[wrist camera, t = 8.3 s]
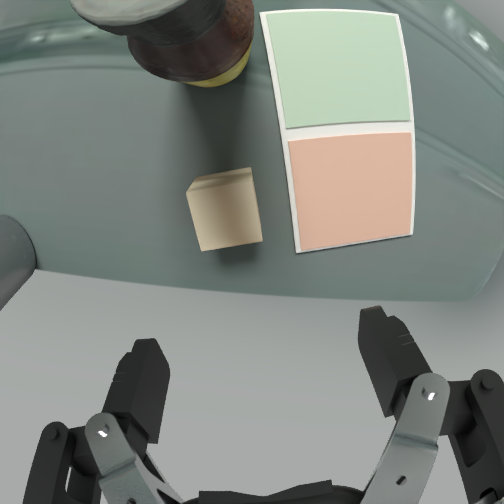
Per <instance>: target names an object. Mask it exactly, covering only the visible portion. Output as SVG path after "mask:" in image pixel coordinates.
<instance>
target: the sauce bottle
mask: <svg viewBox="0 0 504 504" xmlns="http://www.w3.org/2000/svg"><path fill="white" fill-rule="evenodd" d="M70 3H71V6H72V8H73V9H74V11H75V12H77V14H78V15H79V16H80V17H82V18H83V19H84V20H86V21H87V22H89V23H91V24H93V25H95V26H97V27H98V28H100V29H102V30H105V31H107V32H110V33H113V34H116V35H121V36H122V35H126V36H127V41H128V47H129V49H130V52H131V54H132V56H133V57H134V59H135V60H136V61H137V63H138V64H139V65H140V66H141V67H143V68H144V69H145V70H147V71H148V72H150V73H151V74H153V75H156V76H158V77H160V78H163V79H167V80H171V81H176V82H182V83H186V84H191V85H195V86H200V87H215V86H220V85H223V84H226V83H228V82H230V81H231V80H233V79H235V78H236V77H237V76H238V75H239V74H240V73H241V72H242V70H243V69H244V67H245V65H246V63H247V61H248V58H249V53H250V49H251V44H252V40H253V35H254V7H253V2H252V1H251V0H70Z"/></svg>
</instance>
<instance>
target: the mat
mask: <svg viewBox="0 0 504 504" xmlns="http://www.w3.org/2000/svg"><path fill="white" fill-rule="evenodd" d="M259 14H260V19H261V24H262V29H263V34H264V39H265V45H266V50H267V55H268V61H269V66H270V72H271V78H272V83H273V89H274V95H275V101H276V107H277V114H278V120H279V126H280V133H281V140H282V146H283V153H284V160H285V168H286V175H287V183H288V190H289V198H290V206H291V214H292V223H293V232H294V241H295V250H296V253H300V252H307V251H313V250H320V249H326V248H332V247H339V246H345V245H351V244H357V243H363V242H370V241H376V240H382V239H388V238H394V237H400V236H407V235H413V225H414V208H415V134H414V117H413V105H412V95H411V86H410V78H409V70H408V64H407V57H406V51H405V46H404V40H403V35H402V30H401V25H400V21H399V17H398V14H392V13H383V12H374V11H363V10H346V9H297V10H280V11H268V12H260V13H259Z"/></svg>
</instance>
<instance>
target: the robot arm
mask: <svg viewBox="0 0 504 504" xmlns="http://www.w3.org/2000/svg"><path fill="white" fill-rule="evenodd" d="M35 265H36V259H35V253H34V249H33V246H32V243H31V241H30V239H29V237H28V235H27V233H26V232H25V230H24V229H23V228H22V227H21V226H20V224H19V223H17V222H16V221H15V220H14V219H12V218H10V217H7V216H0V311H1V310H2V308H3V307H4V306H5V305H6V304H7V302H8V301H9V300H10V299H11V298H12V297H13V295H14V294H15V293H16V292H17V291H18V290H19V289H20V288H21V286H22V285H23V284H24V283H25V282H26V281H27V280H28V279H29V278H30V277H31V275H32V274H33V272H34V270H35ZM358 344H359V350H360V353H361V355H362V358H363V360H364V363H365V366H366V368H367V371H368V373H369V376H370V378H371V381H372V384H373V386H374V389H375V392H376V394H377V397H378V400H379V402H380V405H381V408H382V411H383V414H384V416H385V418H386V417H389V416H392V415H394V417H395V420H396V424H395V426H394V429H393V431H392V434H391V436H390V438H389V440H388V443H387V445H386V447H385V450H384V452H383V454H382V456H381V458H380V460H379V462H378V464H377V466H376V468H375V470H374V472H373V474H372V475H371V477H370V479H369V481H368V483H367V485H366V487H365V489H364V490H363V491H360V490H358V489H355V488H351V487H347V486H339V485H332V481H331V480H326V481H321V482H316V483H310V484H304V485H298V486H296V487H293V488H290V489H287V490H284V491H281V492H278V493H275V494H272V495H269V496H256V495H249V494H243V493H238V492H232V491H199V497H198V498H195V499H191V500H188V501H186V502H184V501H183V499H182V498H181V497H180V496H179V495H178V494H177V493H176V492H175V491H174V490H173V488H171V486H170V485H169V484H168V482H167V481H166V479H165V478H164V476H163V475H162V473H161V472H160V470H159V469H158V467H157V466H156V464H155V462H154V461H153V459H152V458H151V456H150V455H149V453H148V452H147V450H146V449H147V444H148V443H153V444H158V438H159V433H160V426H161V421H162V416H163V410H164V405H165V400H166V394H167V389H168V384H169V379H170V368H169V364H168V362H167V360H166V358H165V356H164V354H163V352H162V350H161V349H160V346H159V344H158V342H157V341H156V339H154V338H150V339H138V340H136V341H135V343H134V346H133V348H132V352H127V353H126V354H125V356H124V357H123V358H122V359H121V360H120V361H119V364H118V366H117V369H116V374H115V375H114V378H113V382H112V383H111V386H110V389H109V392H108V395H107V398H106V401H105V404H104V407H103V410H102V412H101V413H98V414H96V415H94V416H93V417H91V418H90V419H89V420H88V422H87V424H86V426H82V427H76V428H71V429H68V428H67V427H66V426H65V425H64V424H63V423H61V422H52V423H50V424H48V425H47V426H46V427H45V428H44V429H43V431H42V434H41V437H40V440H39V443H38V446H37V449H36V453H35V456H34V460H33V463H32V467H31V470H30V474H29V478H28V482H27V486H26V490H25V495H24V499H23V504H100V499H101V491H102V492H103V494H104V496H105V498H106V500H107V502H108V504H418V502H419V500H420V498H421V496H422V493H423V491H424V488H425V486H426V483H427V481H428V478H429V475H430V473H431V470H432V468H433V464H434V462H435V459H436V456H437V452H438V445H437V440H438V437H439V436H442V435H448V437H449V440H450V443H451V446H452V449H453V451H454V455H455V457H456V461H457V464H458V467H459V470H460V473H461V477H462V481H463V483H464V488H465V491H466V495H467V499H468V503H469V504H504V382H503V381H502V379H501V377H500V376H499V375H498V374H497V373H496V372H494V371H492V370H488V369H483V370H479V371H477V372H476V373H475V374H474V375H473V377H472V378H471V380H467V381H446V379H445V378H444V377H442V376H441V375H439V374H436V373H433V372H432V371H431V369H430V367H429V365H428V363H427V362H426V360H425V358H424V357H423V355H422V353H421V351H420V349H419V348H418V346H417V344H416V343H415V342H414V339H413V337H412V336H411V335H410V332H409V331H408V329H407V327H406V326H405V324H404V323H403V322H402V321H401V320H399V319H398V318H397V317H395V316H390V317H387V316H386V314H385V312H384V311H383V309H382V307H381V306H374V307H370V308H366V309H361V311H360V321H359V332H358ZM69 467H71V468H72V469H71V473H70V478H69V483H68V488H67V493H66V490H65V485H66V480H67V475H68V471H69Z"/></svg>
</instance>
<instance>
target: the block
mask: <svg viewBox="0 0 504 504" xmlns="http://www.w3.org/2000/svg"><path fill="white" fill-rule="evenodd" d="M186 195H187V199H188V203H189V207H190V211H191V215H192V218H193V222H194V226H195V230H196V233H197V237H198V241H199V245H200V248H201V251H207V250H213V249H219V248H225V247H231V246H237V245H243V244H249V243H255V242H261V241H263V238H262V231H261V223H260V216H259V210H258V204H257V199H256V193H255V187H254V182H253V176H252V170H251V167H248V168H242V169H236V170H231V171H225V172H220V173H215V174H210V175H205V176H200V177H196V178H195V180H194V181H193V183H192V184H191V186H190V187H189V189H188V190H187V192H186Z"/></svg>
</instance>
